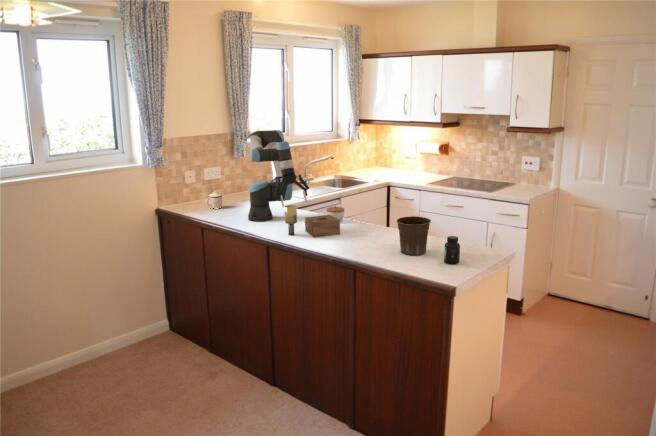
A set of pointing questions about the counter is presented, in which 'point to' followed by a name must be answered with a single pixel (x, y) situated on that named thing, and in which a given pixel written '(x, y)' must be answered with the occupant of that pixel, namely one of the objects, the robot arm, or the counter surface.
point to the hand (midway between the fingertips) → (294, 204)
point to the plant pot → (413, 234)
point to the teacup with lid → (215, 200)
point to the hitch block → (322, 226)
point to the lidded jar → (336, 212)
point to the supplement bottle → (452, 251)
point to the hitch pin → (291, 217)
